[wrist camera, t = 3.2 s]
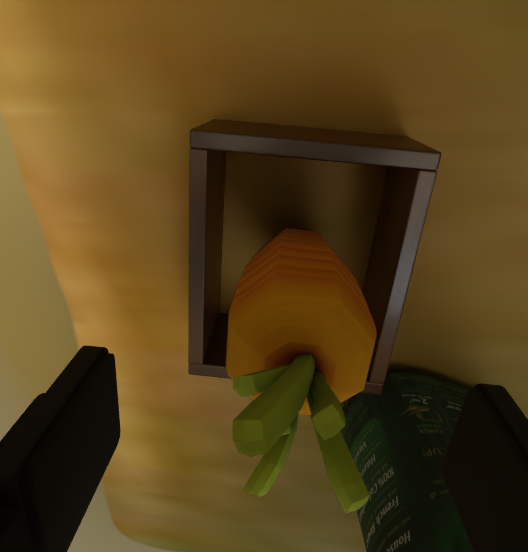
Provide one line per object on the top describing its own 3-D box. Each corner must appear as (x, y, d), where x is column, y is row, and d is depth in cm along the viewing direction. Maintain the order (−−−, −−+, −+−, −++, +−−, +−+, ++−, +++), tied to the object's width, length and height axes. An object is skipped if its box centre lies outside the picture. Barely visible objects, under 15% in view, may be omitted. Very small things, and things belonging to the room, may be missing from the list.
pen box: (212, 118, 20) (189, 129, 16) (409, 136, 20) (442, 152, 15) (207, 321, 25) (188, 374, 20) (365, 338, 25) (381, 395, 20)
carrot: (352, 268, 23) (438, 540, 9) (266, 290, 24) (229, 566, 10) (331, 181, 21) (398, 363, 7) (238, 209, 22) (147, 415, 8)
